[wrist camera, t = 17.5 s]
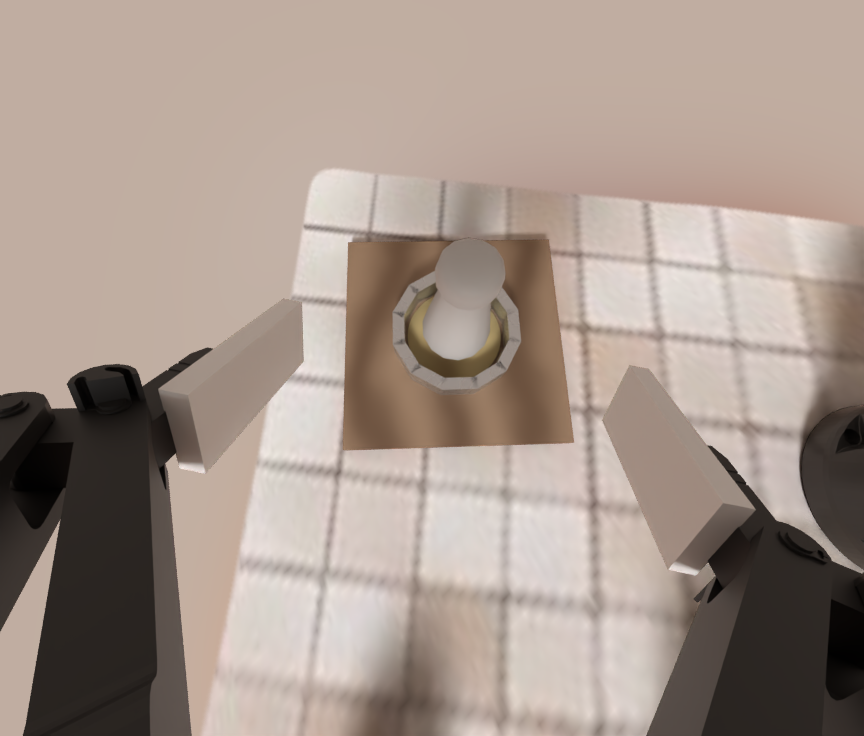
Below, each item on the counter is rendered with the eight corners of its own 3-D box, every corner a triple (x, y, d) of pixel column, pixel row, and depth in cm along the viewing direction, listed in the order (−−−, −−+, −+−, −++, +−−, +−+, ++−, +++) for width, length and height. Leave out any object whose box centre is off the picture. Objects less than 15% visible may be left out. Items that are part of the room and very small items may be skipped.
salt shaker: (411, 324, 35) (405, 244, 22) (464, 296, 35) (487, 204, 23) (442, 377, 33) (454, 326, 21) (496, 348, 34) (540, 281, 22)
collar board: (544, 246, 39) (557, 224, 35) (568, 443, 34) (586, 440, 30) (350, 249, 38) (342, 226, 34) (345, 450, 33) (336, 448, 29)
